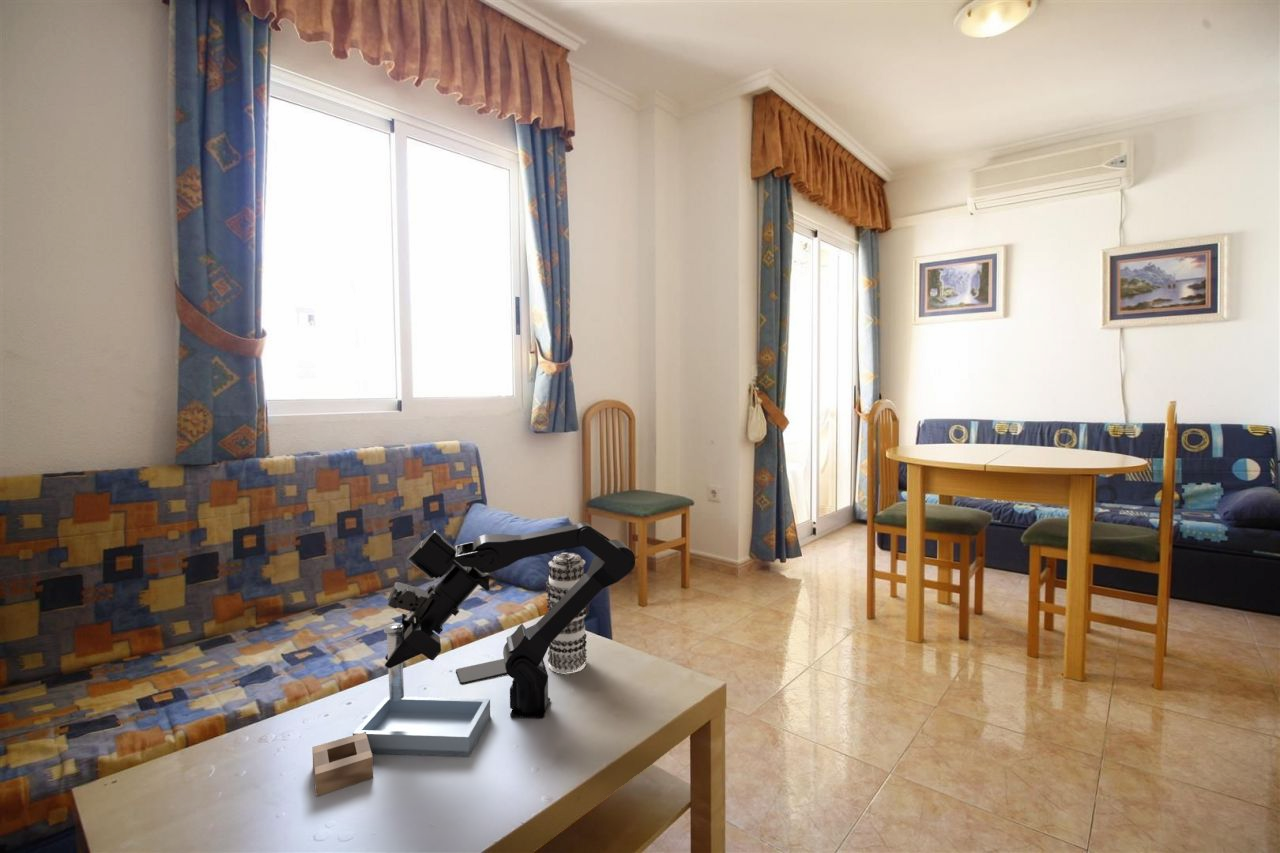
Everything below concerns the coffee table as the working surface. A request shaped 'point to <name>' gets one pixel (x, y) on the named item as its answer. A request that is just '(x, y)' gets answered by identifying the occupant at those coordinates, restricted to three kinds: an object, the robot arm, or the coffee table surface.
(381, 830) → the coffee table surface
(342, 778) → the pin block
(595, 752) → the coffee table surface
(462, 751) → the tray
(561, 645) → the decorative candle
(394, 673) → the metal pin
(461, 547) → the robot arm
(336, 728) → the coffee table surface
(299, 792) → the coffee table surface
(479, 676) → the smartphone
